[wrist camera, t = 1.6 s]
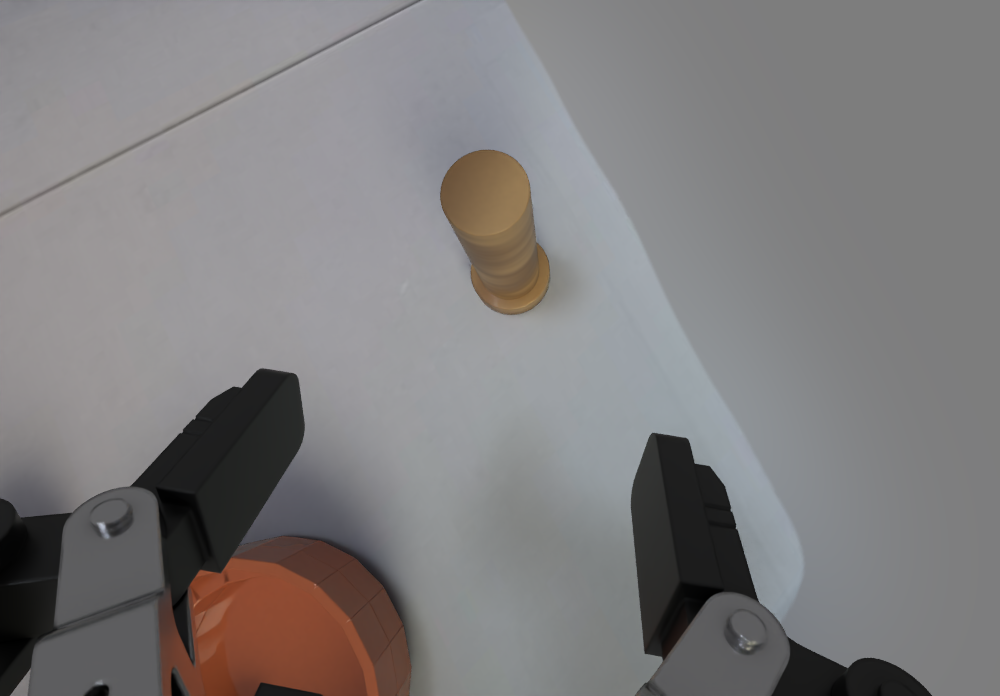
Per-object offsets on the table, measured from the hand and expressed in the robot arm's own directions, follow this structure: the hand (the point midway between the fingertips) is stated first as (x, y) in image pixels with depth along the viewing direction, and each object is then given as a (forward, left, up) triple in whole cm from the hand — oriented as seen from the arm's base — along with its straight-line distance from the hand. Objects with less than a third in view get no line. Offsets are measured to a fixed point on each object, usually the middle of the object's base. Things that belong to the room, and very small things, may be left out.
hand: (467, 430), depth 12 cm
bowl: (+7, +19, -21) cm, 29 cm away
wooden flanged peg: (+4, -8, -21) cm, 23 cm away
